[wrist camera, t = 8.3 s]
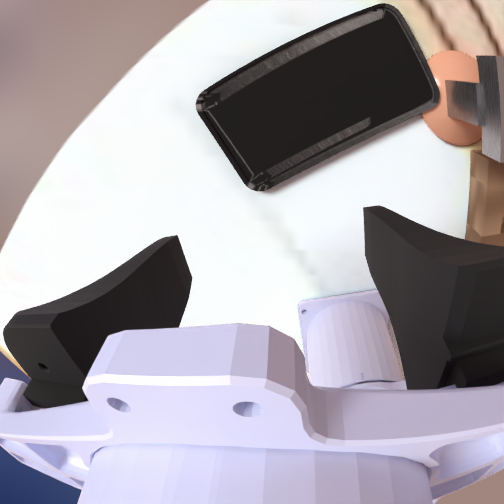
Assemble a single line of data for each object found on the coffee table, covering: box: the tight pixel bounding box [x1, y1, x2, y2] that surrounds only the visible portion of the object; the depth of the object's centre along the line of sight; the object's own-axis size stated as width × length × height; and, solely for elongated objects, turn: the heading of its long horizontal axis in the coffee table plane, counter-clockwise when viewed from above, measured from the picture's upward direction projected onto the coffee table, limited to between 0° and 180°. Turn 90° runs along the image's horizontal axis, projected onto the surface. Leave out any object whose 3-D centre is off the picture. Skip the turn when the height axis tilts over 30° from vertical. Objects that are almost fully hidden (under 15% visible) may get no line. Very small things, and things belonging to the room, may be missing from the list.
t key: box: [445, 56, 504, 163], centre depth 14 cm, size 6×3×6 cm, turn 11°
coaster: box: [421, 51, 482, 146], centre depth 17 cm, size 7×7×1 cm
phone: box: [196, 3, 440, 191], centre depth 18 cm, size 8×1×15 cm
